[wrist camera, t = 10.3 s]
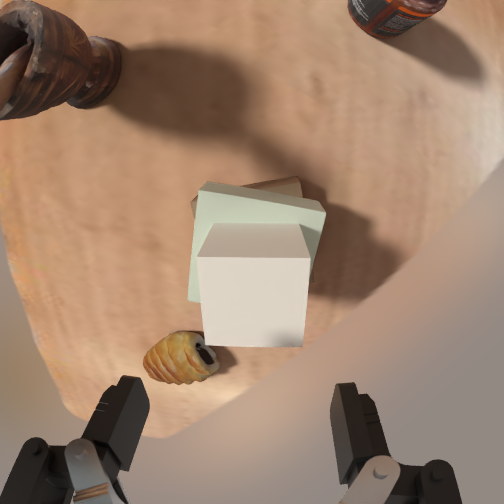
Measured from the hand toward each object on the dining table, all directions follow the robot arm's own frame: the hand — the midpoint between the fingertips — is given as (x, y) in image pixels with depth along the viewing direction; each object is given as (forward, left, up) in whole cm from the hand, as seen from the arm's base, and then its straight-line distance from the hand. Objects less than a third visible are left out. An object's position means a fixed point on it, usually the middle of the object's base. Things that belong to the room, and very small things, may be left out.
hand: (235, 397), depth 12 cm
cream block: (-1, 0, -13) cm, 13 cm away
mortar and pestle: (+14, -16, -19) cm, 29 cm away
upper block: (0, 0, -16) cm, 16 cm away
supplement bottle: (-12, -22, -19) cm, 32 cm away
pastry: (+9, +15, -20) cm, 26 cm away
